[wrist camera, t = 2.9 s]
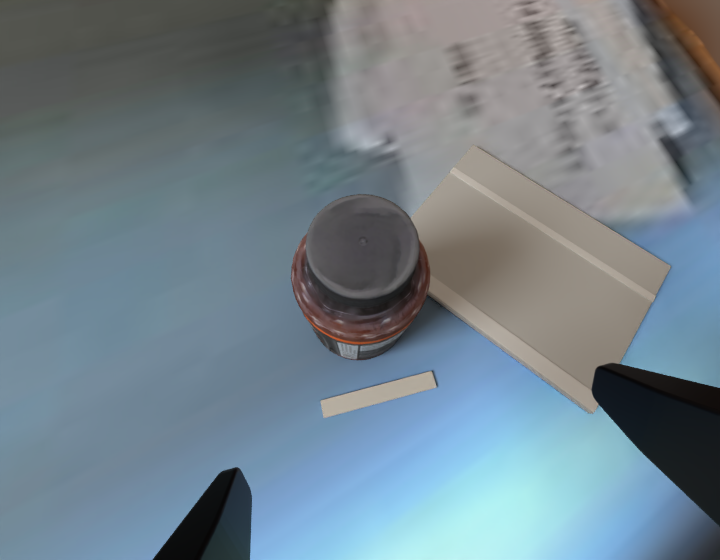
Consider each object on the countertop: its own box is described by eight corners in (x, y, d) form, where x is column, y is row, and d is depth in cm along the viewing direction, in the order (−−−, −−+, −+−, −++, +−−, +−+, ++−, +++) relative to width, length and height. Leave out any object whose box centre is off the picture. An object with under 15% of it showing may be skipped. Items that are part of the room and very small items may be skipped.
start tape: (436, 387, 21) (436, 387, 21) (324, 417, 20) (323, 418, 20) (431, 371, 21) (431, 370, 21) (320, 400, 21) (320, 400, 21)
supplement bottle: (303, 284, 23) (260, 185, 12) (388, 263, 24) (417, 151, 13) (324, 374, 21) (295, 347, 11) (416, 348, 22) (476, 298, 11)
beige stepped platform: (666, 268, 24) (671, 266, 23) (588, 413, 21) (593, 413, 20) (471, 148, 27) (473, 144, 27) (377, 258, 24) (378, 255, 23)
